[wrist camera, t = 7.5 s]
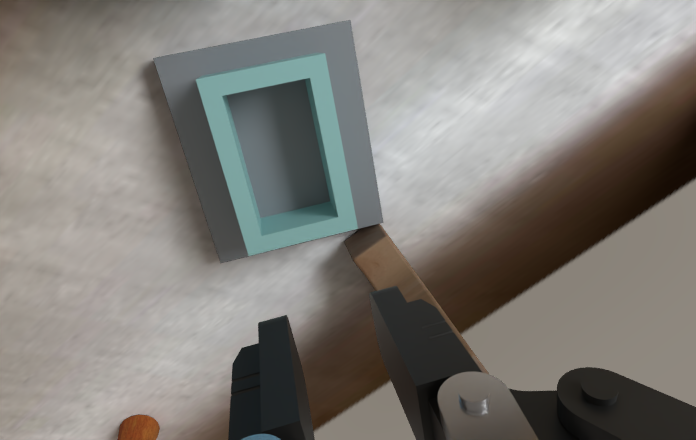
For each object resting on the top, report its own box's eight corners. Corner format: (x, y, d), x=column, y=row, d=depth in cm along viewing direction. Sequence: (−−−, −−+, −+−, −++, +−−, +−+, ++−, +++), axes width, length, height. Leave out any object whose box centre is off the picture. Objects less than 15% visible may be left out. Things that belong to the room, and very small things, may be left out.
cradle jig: (345, 21, 31) (362, 16, 27) (378, 216, 37) (396, 239, 33) (157, 57, 30) (140, 59, 25) (222, 254, 36) (217, 285, 31)
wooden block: (414, 271, 40) (500, 389, 26) (384, 292, 40) (454, 421, 26) (374, 217, 37) (447, 317, 24) (343, 240, 37) (396, 353, 24)
